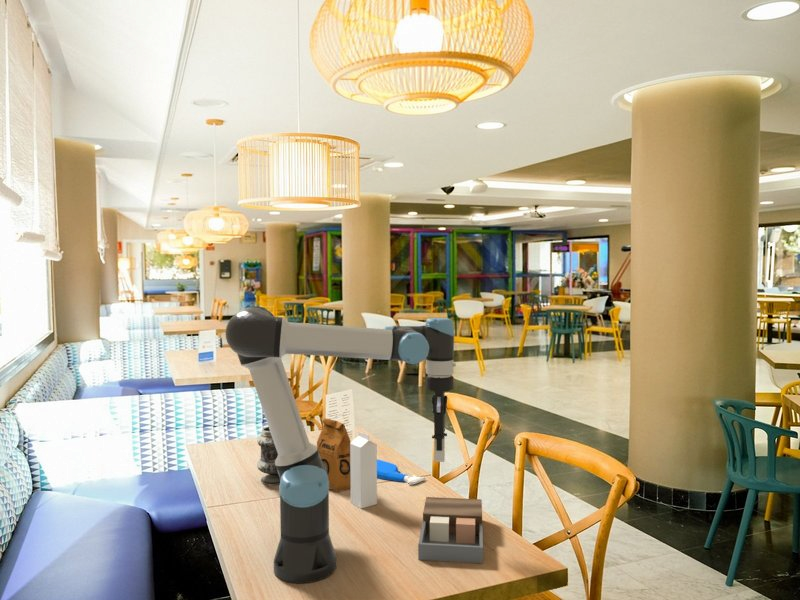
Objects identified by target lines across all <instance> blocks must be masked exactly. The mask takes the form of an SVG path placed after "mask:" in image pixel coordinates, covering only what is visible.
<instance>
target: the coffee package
mask: <svg viewBox="0 0 800 600" xmlns="http://www.w3.org/2000/svg"><path fill="white" fill-rule="evenodd" d="M321 422H322V424H323V427H322V429H321V430H320V434H319V436H318V438H317V441H316V446H317V448H318V451H319V454H320V457H321V460H322V461H323V463H324V464H325V467H326V469H327V475H328V480H329V489H331V490H334V491H335V492H341V491H346V490H351V478H350V443H351V442H352V441H351V438H350V437H349V434H348V431H347V429H346V426H345V424H344V423H342V422H340V421H338V420H334V419H330V418H327V417H325V418H323V420H322V421H321Z"/></svg>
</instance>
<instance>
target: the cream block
mask: <svg viewBox="0 0 800 600" xmlns="http://www.w3.org/2000/svg"><path fill="white" fill-rule="evenodd" d="M430 541H439V542H449V517H433V516H431V518H430Z"/></svg>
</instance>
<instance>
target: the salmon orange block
mask: <svg viewBox="0 0 800 600" xmlns="http://www.w3.org/2000/svg"><path fill="white" fill-rule="evenodd" d="M456 543H473V544H475V519H472V518H456Z"/></svg>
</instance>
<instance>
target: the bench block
mask: <svg viewBox="0 0 800 600" xmlns="http://www.w3.org/2000/svg"><path fill="white" fill-rule="evenodd" d="M482 505H483V501H482V498H481V499H477V498H460V497H459V498H455V497H439V496H438V497H436V496H435V497H434V496H426V497H425V501H424V507H423V510H422V511H423V512H422V522H423V521H426V534H430V518H431V516H433V517H449V535H456V518H472V519H475V536H479V524H482V525H483V506H482Z"/></svg>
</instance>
